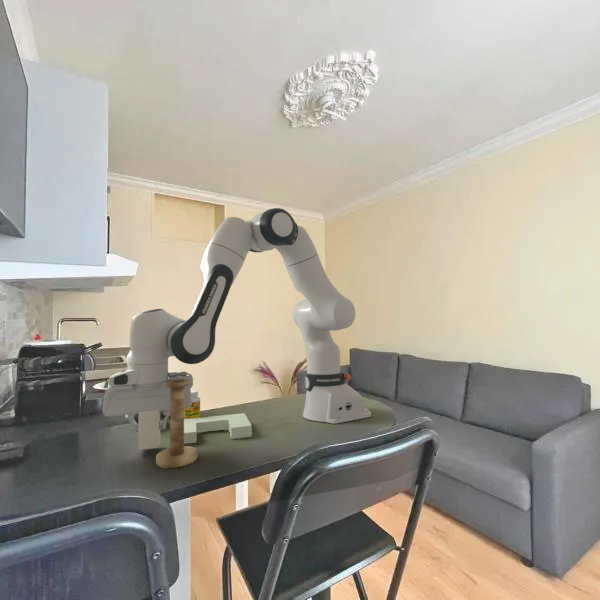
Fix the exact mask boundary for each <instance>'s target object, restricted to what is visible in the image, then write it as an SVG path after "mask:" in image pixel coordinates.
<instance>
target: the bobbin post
mask: <svg viewBox="0 0 600 600" xmlns="http://www.w3.org/2000/svg"><path fill="white" fill-rule="evenodd" d="M188 385H189V380H184V379H179V380H170V381H167V382H166V387H167V388H170V416H169V418H170V419H169V420H170V423H169V424H170V427H169V428H170V429H169V430H170V431H169V432H170V433H169V434H170V437H169V441H170V444H169V445H170V447H169V448H168V447H167V448H165V449H163V450H161V451H159V452H158V453H156V455H155V465H156V464H157V465H158V466H159V468H161V467H163V468H162V469H167V468H171V469H178V467H180V468H183V466H184V467H186V465H187V466H189V464H190V465H192V464H193V463H195V462H196V461H197V460H198V449H197V447H193V446H191V445H189V446H188V445H184V387H185V386H188ZM196 459H197V460H196ZM194 461H195V462H194ZM191 463H192V464H191ZM157 465H156V466H157ZM158 466H157V467H158Z"/></svg>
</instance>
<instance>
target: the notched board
mask: <svg viewBox="0 0 600 600" xmlns="http://www.w3.org/2000/svg"><path fill="white" fill-rule="evenodd" d="M226 428H228V429H229V431H228V433H229V432H230V434H229V436H230V439H231V440H237V439H244V438H251V437H253V436H252V435H253V430H252V424H251V422H250V420H249V419H248V417H247V415H246V413H245V412H244V413H243V412H242V413H234V414H233V413H232V414H231V413H230V414H224V415H212V416H205V417H201V416H200V418H191V419H184V442H194V441H198V440H197V439H198V438H197V435H198V433H197V430H207V429H226ZM236 438H237V439H236Z"/></svg>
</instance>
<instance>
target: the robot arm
mask: <svg viewBox="0 0 600 600" xmlns="http://www.w3.org/2000/svg"><path fill="white" fill-rule="evenodd" d="M274 249H276V250H277V252H279V254H280V255H281V257H282V259H283V263H284V265H285V268H286V270H287V273H288V275H289V278H290V280H291V282H292V286H293V287H294V289H295V290H296V291H297V292H299V293H300V294H301V295H303V297H304V298H305V299H304V300H301V301H299V302H298V303H297V304H295V306H294V308H293V311H292V318H293V321H294V322H295V324H296V325H297V326H298V328H299V330H300V332H301V335H302V338H303V341H304V345H305V352H306V372H305V381H304V382H305V390H306V396H305V401H304V402H305V403H304V407H303V408H304V409H303V412H302V417H303V418H305V419H306V420H310V421H313V422H322V423H329V424H332V425H333V424H335V425H336V424H341V423H345V422H351V421H355V420H357V421H358V420H362V419H366V418H371V417H372V412H371V411H370V409H368V408H367V407H365V402H364V400H363V399H364V398H363V397H362V395H361V394H360V393H359V392H358V391H357V390H355V389H354V388H352V386H350V385H349V384H347V382H346V381H351V379H352V376H351V374H349V373H345V372H342V371H341V349H340V347H339V346H338V344H336V343H335V341H334V339H333V338H332V334H331V331H333V332H335V331H341V330H345V329H348V328H349V327H351V326H352V325H353V324H354V321H355V319H356V315H357V314H356V308H355V305H354V303H353V302H352V301H351V300H350V299H349V298H347V297H346V296H344V295H343V294H341V292H339V291H338V289H337V288H336V287H335V286H334V285H333V284H332V281H331V280H330V278H328V276H327V274H326V271H325V269H324V266H323V264H322V262H321V259H320V256H319V254H318V251H317V248H316V247H315V244H314V242H313V240H312V239H311V237H310V235H309V233H308V232H307V230H306V228H304V227H303V226H301V225H298V224H297V222H296V221H295V219H294V218H293V216H292V215H291V214H290V212H288V211H287V210H285V209H283V208H279V207H277V208H275V207H274V208H269V209H266V210H265V211H263V212H259V213H258V214H256V215H255V216H253V217H252V218H250V219H249V220H247V221H246V220H244V219H242V218H241V217H237V216H229V217H226V218H225V219H223V221H222V222H221V223H220V224H219V226H218V227H217V228H216V229H215V232H214V233H213V234H212V236H211V237H210V239H209V241H208V243H207V245H206V247H205V249H204V252H203V254H202V257H201V262H200V267H199V269H200V273H201V275H202V277H203V286H202V289H201V291H200V292H199V293H200V294H199V296H198V298H197V300H196V302H195V305H194V307H193V309H192V312H191V314H190V315H189V317H188V318H187V319H182V318H180V317H178V316H175V315H173V314H171V313H169V312H168V311H167V310H165V309H163V308H155V309H149V310H143V311H139V312H138V313H136V314H135V315H133V317H132V319H131V322H130V328H129V349H130V350H131V359H130V368H129V369H128V368H127V369H123V370H121V371H118V372H116V373H114V374H112V375H110V377H109V378H108V386H109V387H108V388H106V390H105V392H104V395H103V396H104V397H103V401H102V402H103V403H102V414H103V415H104V416H105V417H106V418H109V417H110V418H111V417H117V416H118V417H120V416H125V415H128V418H127V420H128V422H129V423H130V425H131V426H132V433H138V423H136V421H135V420H134V417H135V414H138V412H139V411H147V410H157V409H159V412H160V413H161V412H163V416H164V417H163V419H162V420H160V422H159V430H160V431H161V430H166V427H167V421H168V419H169V418H170V388H167V387H166V382H167V381H170V380H179V379H184V380H189V385H188V386H185V387H184V409H189V408H190V406H191V405H192V397H191V390H192V389H191V388H192V387H193V385H194V377H193V376H192V374H191V373H188V372H187V371H181V372H180V371H179V372H174V371H172V372H169V358H170V357H174V358H176V359H177V360H178V361H179V362H181V363H183V364H187V365H196V364H199V363H202V362H204V361H205V360H207V359H209V357H210V356H211V354H212V353H213V351H214V349H215V345H216V328H217V323H218V320H219V317H220V315H221V313H222V311H223V307H224V305H225V303H226V301H227V297H228V295H229V292H230V290H231V288H232V286H233V284H234V282H235V280H236V278H237V277H238V275H239V273H240V272H241V269H242V267H243V265H244V263H245V260H246V258H247V256H248V254H249V252H252V253H262V252H267V251H271V250H274Z"/></svg>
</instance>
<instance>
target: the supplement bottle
mask: <svg viewBox="0 0 600 600" xmlns="http://www.w3.org/2000/svg"><path fill="white" fill-rule="evenodd" d="M190 390H191V397H192V405H191V406H190V408H189V409H184V419H191V418H201V397H199V391H198V390H195V389H193V390H192V389H190Z"/></svg>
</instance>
